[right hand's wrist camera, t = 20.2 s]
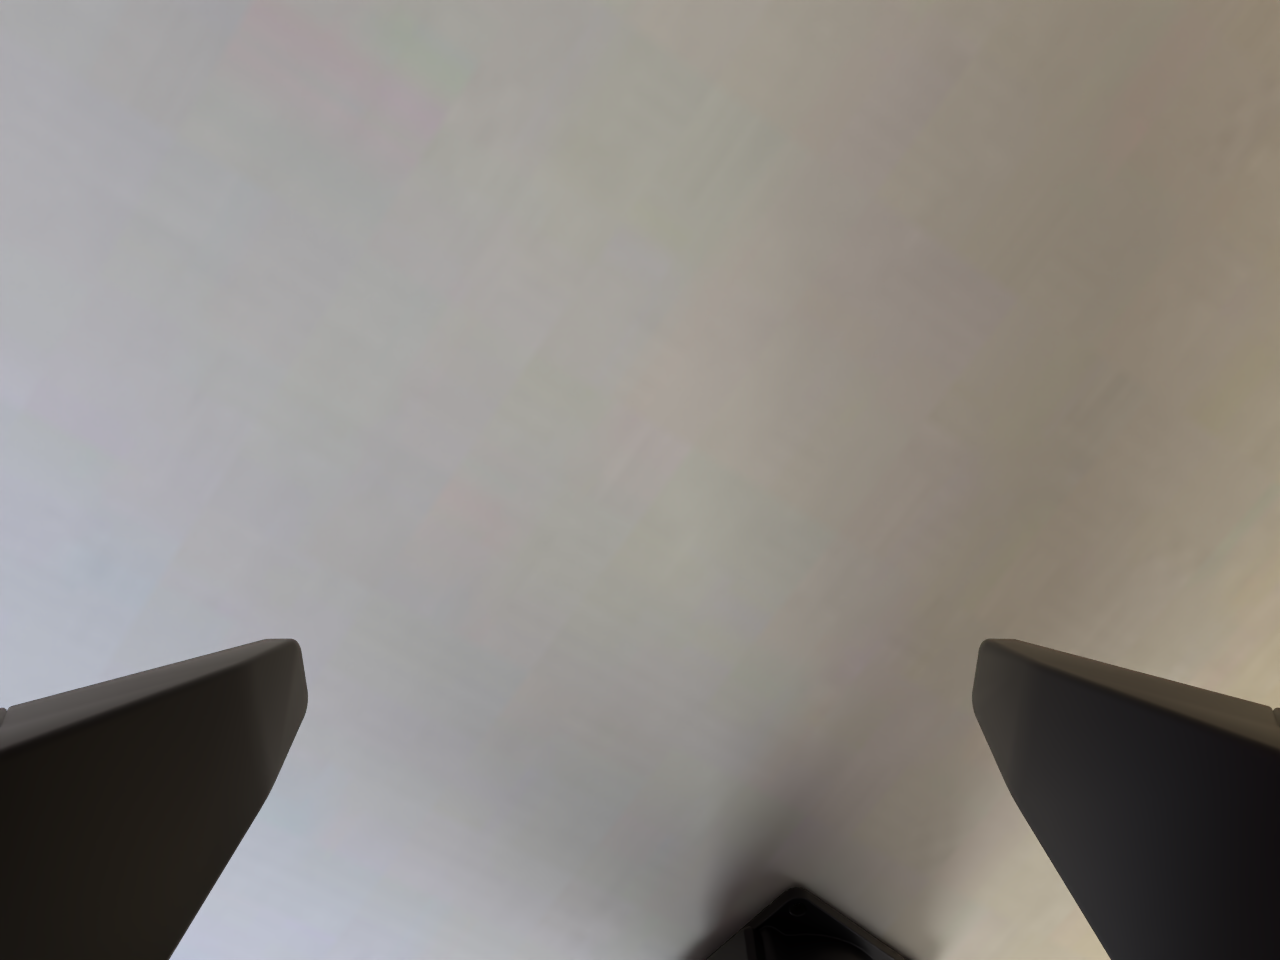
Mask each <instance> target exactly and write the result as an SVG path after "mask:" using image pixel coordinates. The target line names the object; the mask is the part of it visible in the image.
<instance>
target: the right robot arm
mask: <svg viewBox="0 0 1280 960" xmlns="http://www.w3.org/2000/svg"><path fill="white" fill-rule="evenodd" d="M307 703H308V692H307V685H306V678H305V672H304V665H303V659H302V652H301V648H300V646H299V644H298V642H297V641H296V640H294V639H264V640H260V641H257V642H253V643H249V644H245V645H241V646H238V647H234V648H230V649H226V650H222V651H219V652H215V653H211V654H207V655H204V656H200V657H196V658H192V659H188V660H185V661H181V662H177V663H173V664H169V665H166V666H162V667H158V668H154V669H151V670H147V671H143V672H139V673H135V674H132V675H128V676H124V677H120V678H116V679H113V680H109V681H105V682H101V683H98V684H94V685H90V686H86V687H82V688H79V689H75V690H71V691H67V692H63V693H60V694H56V695H52V696H48V697H45V698H41V699H37V700H33V701H29V702H26V703H22V704H18V705H14V706H11V707H9V708H8V710H6V709H5V708H0V960H169V959H170V957H171V955H172V954H173V952H174V951H175V949H176V947H177V946H178V944H179V942H180V941H181V939H182V937H183V936H184V934H185V932H186V931H187V929H188V927H189V926H190V924H191V923H192V921H193V919H194V918H195V916H196V914H197V913H198V911H199V909H200V908H201V906H202V904H203V903H204V901H205V900H206V898H207V896H208V895H209V893H210V891H211V890H212V888H213V886H214V885H215V883H216V881H217V880H218V878H219V877H220V875H221V873H222V872H223V870H224V868H225V867H226V865H227V863H228V862H229V860H230V858H231V857H232V855H233V854H234V852H235V850H236V849H237V847H238V845H239V844H240V842H241V840H242V839H243V837H244V835H245V834H246V832H247V831H248V829H249V827H250V826H251V824H252V822H253V821H254V819H255V817H256V816H257V814H258V812H259V811H260V809H261V807H262V806H263V804H264V802H265V800H266V799H267V797H268V795H269V793H270V791H271V789H272V787H273V785H274V783H275V781H276V779H277V776H278V774H279V772H280V770H281V767H282V765H283V763H284V761H285V758H286V756H287V754H288V752H289V749H290V747H291V745H292V743H293V740H294V738H295V736H296V734H297V731H298V729H299V727H300V725H301V722H302V720H303V718H304V716H305V713H306V709H307ZM972 703H973V709H974V713H975V716H976V718H977V720H978V722H979V725H980V727H981V729H982V731H983V734H984V736H985V738H986V740H987V743H988V745H989V747H990V749H991V752H992V754H993V756H994V758H995V761H996V763H997V765H998V767H999V770H1000V772H1001V774H1002V776H1003V779H1004V781H1005V783H1006V785H1007V787H1008V789H1009V791H1010V793H1011V795H1012V797H1013V799H1014V800H1015V802H1016V804H1017V806H1018V807H1019V809H1020V811H1021V812H1022V814H1023V816H1024V817H1025V819H1026V821H1027V822H1028V824H1029V826H1030V827H1031V829H1032V831H1033V832H1034V834H1035V835H1036V837H1037V839H1038V840H1039V842H1040V844H1041V845H1042V847H1043V849H1044V850H1045V852H1046V854H1047V855H1048V857H1049V858H1050V860H1051V862H1052V863H1053V865H1054V867H1055V868H1056V870H1057V872H1058V873H1059V875H1060V877H1061V878H1062V880H1063V881H1064V883H1065V885H1066V886H1067V888H1068V890H1069V891H1070V893H1071V895H1072V896H1073V898H1074V900H1075V901H1076V903H1077V904H1078V906H1079V908H1080V909H1081V911H1082V913H1083V914H1084V916H1085V918H1086V919H1087V921H1088V923H1089V924H1090V926H1091V927H1092V929H1093V931H1094V932H1095V934H1096V936H1097V937H1098V939H1099V941H1100V942H1101V944H1102V946H1103V947H1104V949H1105V950H1106V952H1107V954H1108V955H1109V957H1110V959H1111V960H1280V708H1275V709H1274V710H1272V708H1271V707H1269V706H1266V705H1262V704H1258V703H1254V702H1251V701H1247V700H1243V699H1239V698H1236V697H1232V696H1228V695H1224V694H1220V693H1217V692H1213V691H1209V690H1205V689H1201V688H1198V687H1194V686H1190V685H1186V684H1183V683H1179V682H1175V681H1171V680H1167V679H1164V678H1160V677H1156V676H1152V675H1148V674H1145V673H1141V672H1137V671H1133V670H1129V669H1126V668H1122V667H1118V666H1114V665H1111V664H1107V663H1103V662H1099V661H1095V660H1092V659H1088V658H1084V657H1080V656H1076V655H1073V654H1069V653H1065V652H1061V651H1058V650H1054V649H1050V648H1046V647H1042V646H1039V645H1035V644H1031V643H1027V642H1023V641H1020V640H1016V639H986V640H984V641H983V642H982V644H981V646H980V648H979V652H978V659H977V665H976V672H975V678H974V685H973V692H972ZM799 903H800V905H797V906H794V904H799ZM706 960H907V959H905V958H904V957H902V956H901V955H899V954H898V953H896V952H895V951H894V950H892V949H891V948H889V947H888V946H886V945H885V944H884V943H882V942H881V941H879V940H878V939H876V938H875V937H873V936H872V935H871V934H869V933H868V932H866V931H865V930H863V929H862V928H860V927H859V926H858V925H856V924H855V923H853V922H852V921H850V920H849V919H847V918H846V917H845V916H843V915H842V914H840V913H839V912H837V911H836V910H834V909H833V908H832V907H830V906H829V905H827V904H826V903H824V902H823V901H821V900H820V899H819V898H817V897H816V896H814V895H813V894H811V893H810V892H809V891H807V890H805V889H803V888H792V889H789V890H787V891H785V892H784V893H783V894H782V895H781V896H779V897H778V898H777V899H776V900H775V901H774V902H772V903H771V904H770V905H769V906H768V907H767V908H765V909H764V910H763V911H762V912H761V913H760V914H758V915H757V916H756V917H755V918H754V919H753V920H751V921H750V922H749V923H748V924H747V925H746V926H745V927H743V928H742V929H741V930H740V931H739V932H738V933H736V934H735V935H734V936H733V937H732V938H731V939H729V940H728V941H727V942H726V943H725V944H724V945H722V946H721V947H720V948H719V949H718V950H717V951H715V952H714V953H713V954H712V955H711V956H710V957H708V958H707V959H706Z"/></svg>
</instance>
